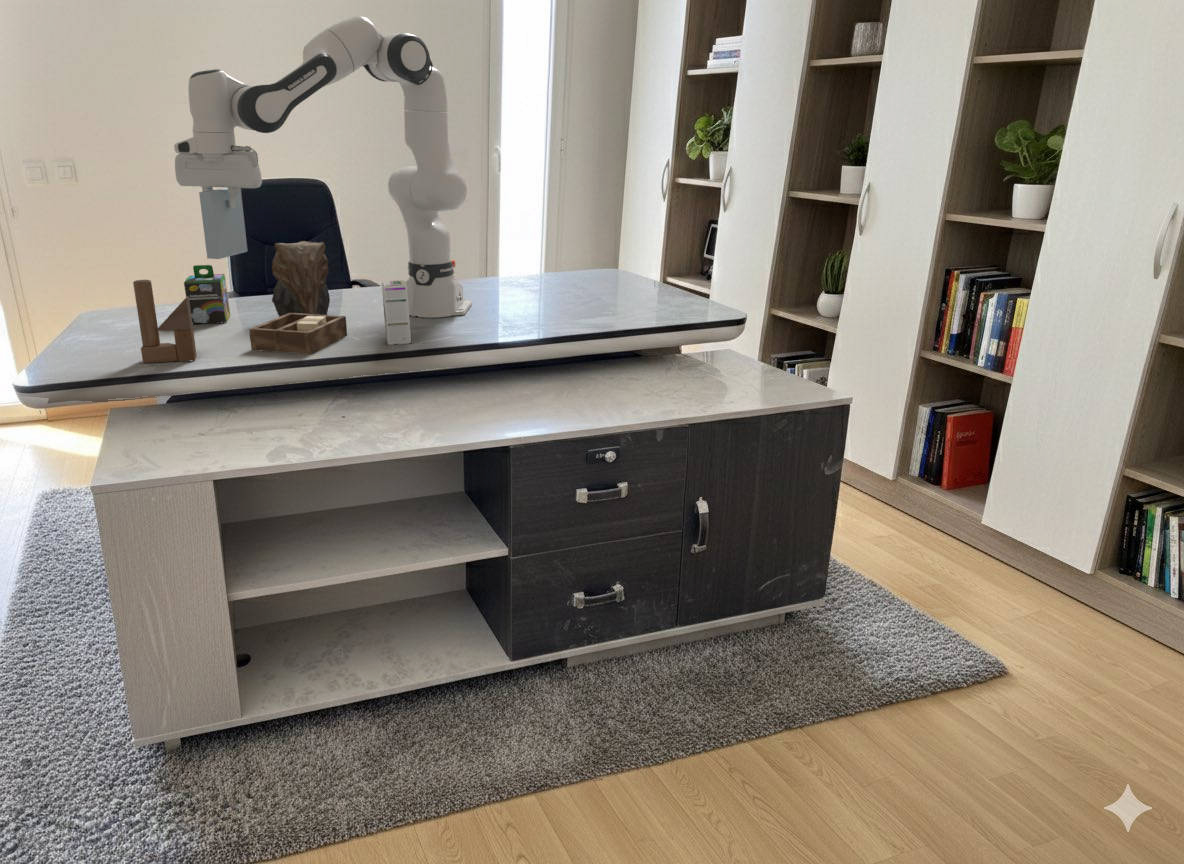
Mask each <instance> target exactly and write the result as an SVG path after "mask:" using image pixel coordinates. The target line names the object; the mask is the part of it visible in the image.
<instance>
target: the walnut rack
mask: <svg viewBox="0 0 1184 864" xmlns="http://www.w3.org/2000/svg"><path fill="white" fill-rule="evenodd" d="M306 316H326V323H325V324H322V325H320V326H318V327H316V328H314V329H311V330H309V331H307V332H306V331H297V323H298V322H299V321H301V320H302V319H304V318H305V317H306ZM347 330H348V329H347V316H346V315H332V314H331V315H329V314H327V315H317V314H301V313H288V314H285V315H283V316H280V317H279V316H278V317H276V318H273V319H271V320H268V321H266V322H263V323H261V324H257V325H256V326H253V327H251V328H249V329H248V331H249V337H250V338H249V340H250V341H249V342H250V349H252V350H251V351H259V350H262V352H273V351H277V352H276V353H289V354H290V353H291V354H301V355H312V354H314V353H316V352H318V351H320V350H322V349H324V348H326V347H328V346H330V345H332V344H334V343H336V342H339V341H340V340H342V339H344V338H346V337H348V331H347ZM345 336H346V337H345ZM343 337H344V338H343ZM341 338H342V339H341ZM339 339H340V340H339Z"/></svg>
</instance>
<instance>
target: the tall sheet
mask: <svg viewBox="0 0 1184 864" xmlns="http://www.w3.org/2000/svg"><path fill="white" fill-rule="evenodd" d="M238 189H239V193H238V195H237V197H236V199H235V204H236V207H234V208H228V207H226V202H225V200H228V199H229V196H230V193H231V192H228V187H223V188H218V189H213V190H210V191H199V192H198V193H199V195H198V196H199V202H200V211H201V219H202V226H203V233H204V236H203V237H204V241H205V242H204V243H205V249H206V257H207V259H211V260H220V259H221V260H222V259H225V258H228V257H229V258H230V257H231V256H232V257H234V256H236V255H240V254H243V253H247V252H248V243H247V236H246V235H247V234H246V226H245V225H246V224H245V223H246V222H245V216H244V206H243V198H242V188H238Z"/></svg>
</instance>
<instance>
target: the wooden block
mask: <svg viewBox="0 0 1184 864" xmlns="http://www.w3.org/2000/svg"><path fill="white" fill-rule="evenodd" d="M132 284H133V291H134V299H135V303H136V310H137V318H138V324H139V330H140V336H141V343H142V346H141V348H140V353H141V359H142V363H143V364H152V363H155V362H156V363H171V362H174V361H176V362H180V361H181V362H190V361H189V360H194V361H195V360H196V359H197V349H196V348H197V346H196V340H195V332H194V328H193V325H194V324H192V317H191V310H190V302H189V296H187V297H186V296H185V298H184V299H183V300H182V301H181V302H180V303H179V305H178V306H177V307H175V309H174V310H172V312H171V313H170V314H169V315H168V317H167V318H166V319H165V320H164V321H163V322H162V323H161V324H160V325H159V327H158V321H157V319H158V318H157V314H156V313H157V312H156V305H155V297H154V291H153V285H152V280H149V279H136V280H134V281H133V283H132ZM164 331H165V332H167V331H168V332H169V331H173V335H174V343H172V342H171V343H170V342H163V343H162V342H161V339H160V334H159V332H164Z"/></svg>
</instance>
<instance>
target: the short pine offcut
mask: <svg viewBox="0 0 1184 864" xmlns="http://www.w3.org/2000/svg"><path fill="white" fill-rule="evenodd" d="M325 323H326V316H306V317H305V318H304V319H302V320H301V321H299V322H298V323H297V331H306V332H307V331H309V330H311V329H314V328H316V327H318V326H320V325H322V324H325Z"/></svg>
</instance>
